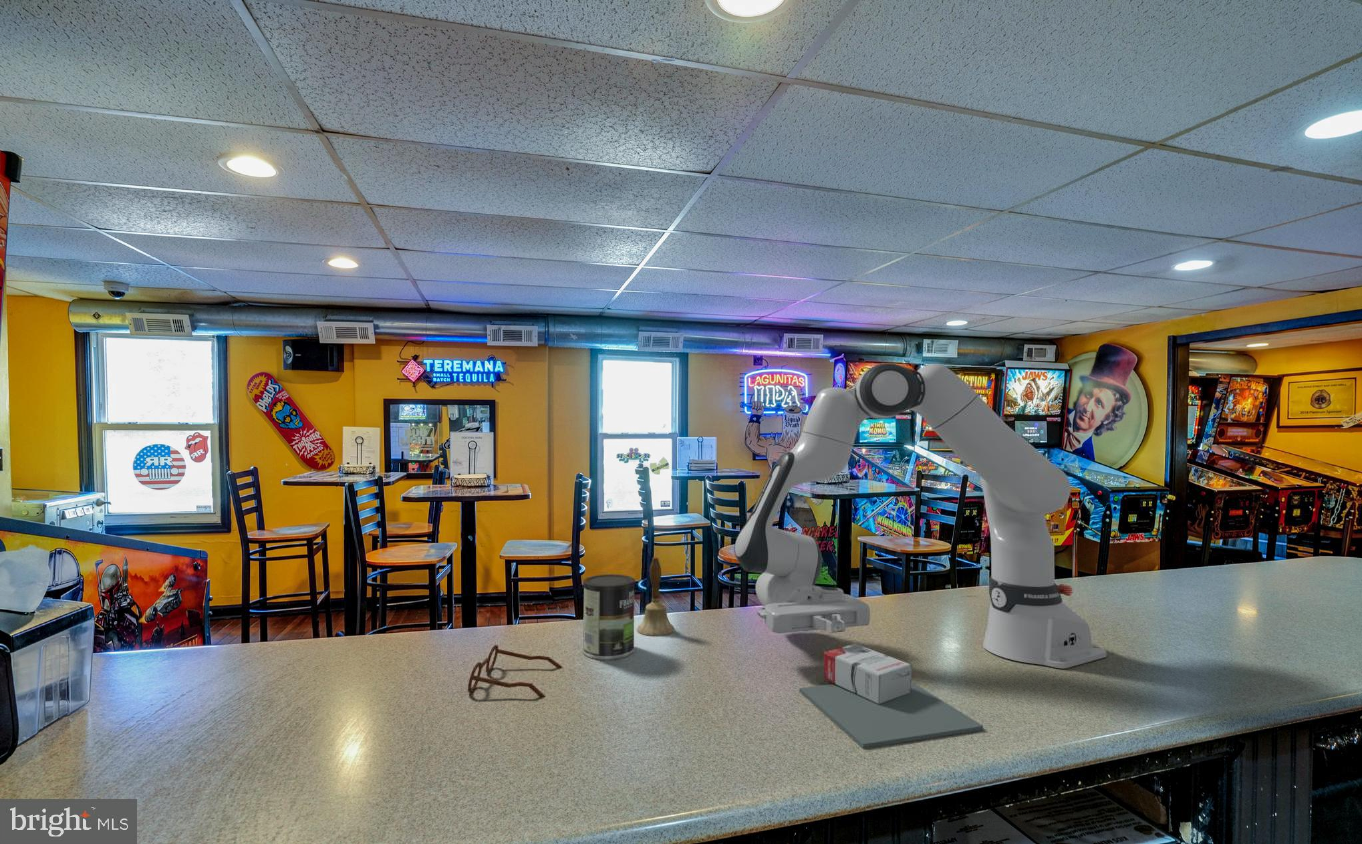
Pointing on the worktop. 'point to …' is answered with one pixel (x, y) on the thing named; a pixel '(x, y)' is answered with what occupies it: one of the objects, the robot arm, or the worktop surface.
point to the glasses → (499, 683)
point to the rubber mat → (889, 715)
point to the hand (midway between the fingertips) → (838, 627)
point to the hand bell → (655, 608)
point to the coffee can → (608, 616)
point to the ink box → (867, 673)
